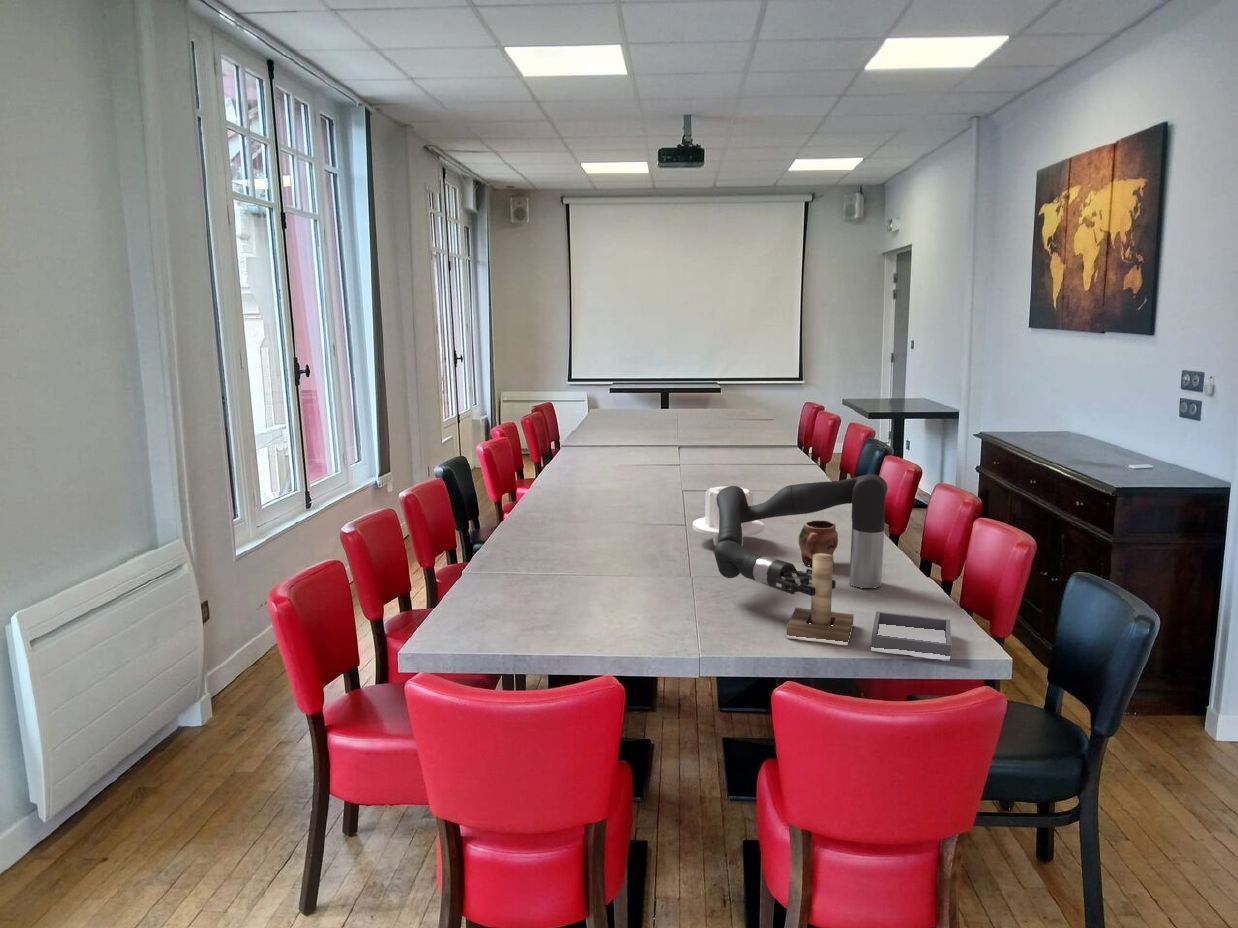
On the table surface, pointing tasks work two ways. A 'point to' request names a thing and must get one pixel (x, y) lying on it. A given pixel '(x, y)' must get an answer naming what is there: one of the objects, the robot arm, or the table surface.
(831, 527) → the decorative planter
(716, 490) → the lamp base
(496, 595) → the table surface
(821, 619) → the beech dowel
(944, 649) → the slate grey tray
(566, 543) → the table surface
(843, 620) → the walnut socket block
